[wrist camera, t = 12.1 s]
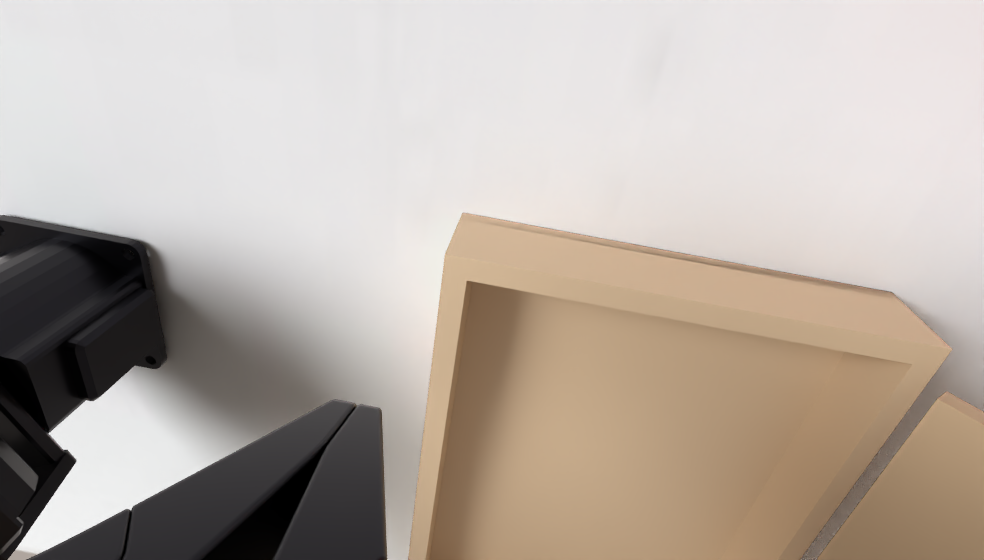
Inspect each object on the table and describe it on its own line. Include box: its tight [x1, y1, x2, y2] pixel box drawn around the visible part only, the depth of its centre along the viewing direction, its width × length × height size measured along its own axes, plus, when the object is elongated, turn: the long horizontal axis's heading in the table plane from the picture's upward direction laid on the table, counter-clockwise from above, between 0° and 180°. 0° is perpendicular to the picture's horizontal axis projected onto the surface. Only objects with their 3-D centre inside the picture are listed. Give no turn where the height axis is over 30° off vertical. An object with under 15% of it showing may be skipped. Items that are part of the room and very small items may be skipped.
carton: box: [408, 213, 952, 560], centre depth 24 cm, size 16×22×4 cm
